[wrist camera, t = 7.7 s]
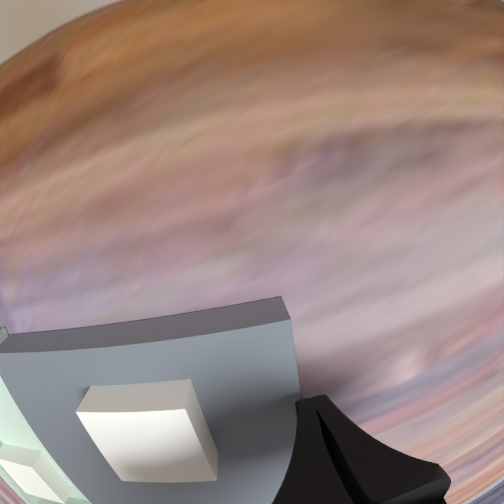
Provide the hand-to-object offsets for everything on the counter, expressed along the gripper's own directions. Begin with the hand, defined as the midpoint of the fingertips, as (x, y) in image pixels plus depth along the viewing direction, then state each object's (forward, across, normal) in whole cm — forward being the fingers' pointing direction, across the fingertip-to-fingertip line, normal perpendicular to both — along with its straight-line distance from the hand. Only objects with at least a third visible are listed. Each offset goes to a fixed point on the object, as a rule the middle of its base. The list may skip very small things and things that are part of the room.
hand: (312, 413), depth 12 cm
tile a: (+1, +22, +8) cm, 24 cm away
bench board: (+3, +8, +4) cm, 10 cm away
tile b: (+1, +7, 0) cm, 7 cm away
